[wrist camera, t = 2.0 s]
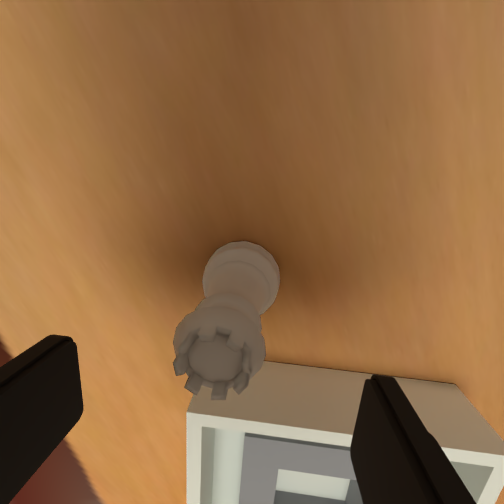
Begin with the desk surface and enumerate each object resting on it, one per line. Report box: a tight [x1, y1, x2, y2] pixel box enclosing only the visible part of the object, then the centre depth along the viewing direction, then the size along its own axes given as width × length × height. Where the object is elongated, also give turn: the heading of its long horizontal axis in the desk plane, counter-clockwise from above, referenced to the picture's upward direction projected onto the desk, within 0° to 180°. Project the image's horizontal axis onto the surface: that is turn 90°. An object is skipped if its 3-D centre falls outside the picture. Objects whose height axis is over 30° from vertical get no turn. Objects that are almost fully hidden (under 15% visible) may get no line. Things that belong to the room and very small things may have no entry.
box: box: [187, 361, 504, 504], centre depth 17 cm, size 16×16×4 cm
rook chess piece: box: [173, 241, 280, 400], centre depth 12 cm, size 4×4×8 cm
